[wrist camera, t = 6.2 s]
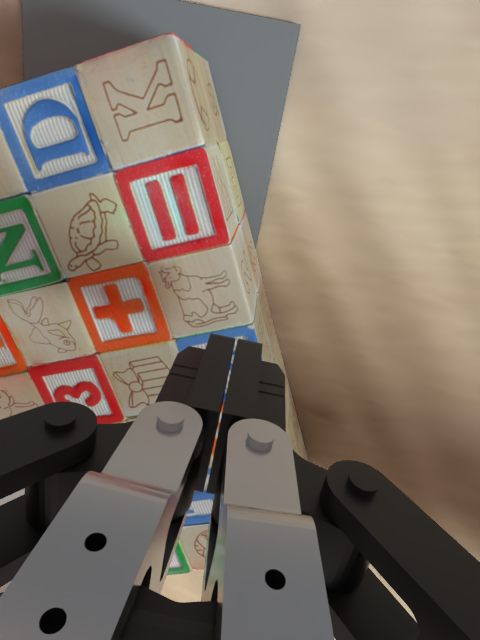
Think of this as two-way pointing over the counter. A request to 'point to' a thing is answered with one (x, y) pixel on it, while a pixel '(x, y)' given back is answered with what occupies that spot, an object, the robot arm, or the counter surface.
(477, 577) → the robot arm
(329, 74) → the counter surface
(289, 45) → the mat
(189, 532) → the stack of blocks
